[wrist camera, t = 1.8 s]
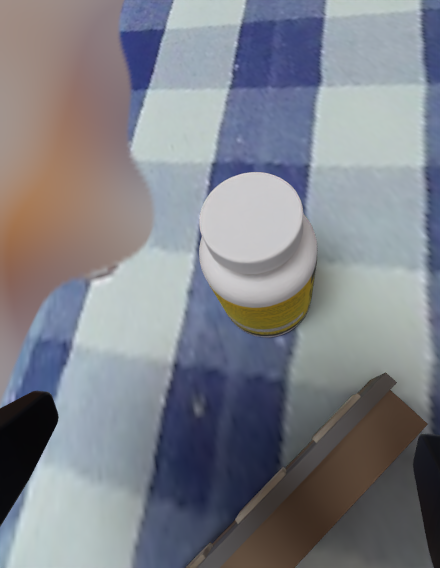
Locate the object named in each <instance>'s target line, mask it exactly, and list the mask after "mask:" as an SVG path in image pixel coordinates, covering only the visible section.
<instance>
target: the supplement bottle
mask: <svg viewBox="0 0 440 568" xmlns="http://www.w3.org/2000/svg"><path fill="white" fill-rule="evenodd" d="M199 223H200V231H201V234H202V238H201V242H200V249H199V257H200V264H201V268H202V271H203V274H204V276H205V278H206V279H207V281H208V283H209V285H210V287H211V288H212V290H213V292H214V293H215V295H216V296H217V298H218V300H219V301H220V303H221V305H222V306H223V308H224V309H225V311H226V313H227V314H228V316H229V317H230V319H231V320H232V321H233V322H234V324H235V325H236V326H238V327H239V328H240V329H241V330H243V331H244V332H246V333H248V334H251V335H254V336H258V337H276V336H280V335H283V334H285V333H287V332H289V331H291V330H292V329H294V328H295V327H296V326H297V325H298V324H299V323H300V322H301V321H302V320H303V319H304V317H305V316H306V314H307V312H308V309H309V306H310V303H311V298H312V291H313V283H314V275H315V269H316V264H317V240H316V235H315V232H314V230H313V227H312V225H311V223H310V222H309V220H308V219H307V218H306V216H305V215H304V214H303V207H302V203H301V200H300V198H299V196H298V194H297V193H296V191H295V190H294V188H293V187H292V186H291V185H290V184H288V183H287V182H286V181H284V180H283V179H281V178H279V177H277V176H275V175H271V174H268V173H262V172H250V173H244V174H240V175H237V176H234V177H231V178H229V179H227V180H225V181H224V182H222V183H221V184H219V185H218V186H217V187H216V188H215V189H214V190H213V191H212V192H211V193H210V194H209V196H208V197H207V198H206V200H205V202H204V204H203V207H202V209H201V213H200V222H199Z"/></svg>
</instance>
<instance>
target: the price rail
mask: <svg viewBox="0 0 440 568" xmlns="http://www.w3.org/2000/svg"><path fill="white" fill-rule="evenodd" d="M396 383H397V382H396V381H395V380H393V379H392V378H391V377H390V376H389V375H388V374H387V373H384V374H382V375H380V376H378V377H376V378H374V379H372V380H370V381H369V382H368V383H367V384H366V385H365V386H364V387H363V388H362V389H361V390H360V391H359V392H358V393H357V394H355V395H352V396H351V397H350V398H349V399H348V400H347V402H346V403H345V404H344V405H343V406H342V407H341V408H340V409H339V410H338V411H337V412H336V413H335V414H334V415H333V416H332V417H331V418H330V419H329V420H328V421H327V422H326V423H325V424H324V425H323V426H322V427H321V428H320V429H319V430H318V431H317V432H316V433H315V435H314V436H313V437H312V439H313V440H312V441H311V442H310V443H309V444H308V445H307V446H306V447H305V448H304V449H303V450H302V451H301V452H300V453H299V454H298V455H297V456H296V458H295V459H294V460H293V461H292V462H291V463H290V464H289V465H288V466H287V467H286V468H284V467H283V468H282V469H281V470H280V471H279V472H278V473H277V474H276V475H275V476H274V477H273V478H272V479H271V480H270V481H269V482H268V483H267V484H266V485H265V486H264V487H263V488H262V489H261V490H260V491H259V492H258V493H257V494H256V495H255V496H254V497H253V498H252V500H251V501H250V502H249V503H248V504H247V505H246V506H245V507H244V508H243V509H242V510H241V511H240V512H239V514H238V516H237V517H236V519H235V521H234V522H233V523H232V524H231V525H230V526H229V527H228V528H227V529H226V530H225V531H224V532H223V533H222V534H221V535H220V536H219V537H218V538H217V539H216V540H215V541H214V542H213V543H212V544H211V542H210V543H209V544H208V545H207V546H206V547H205V548H204V549H203V550H202V551H201V552H200V553H199V554H198V555H197V556H196V557H195V558H194V559H193V560H192V561H191V562H190V564H189V565H188V566H187V567H186V568H295V567H296V566H297V565H298V563H299V562H300V561H301V560H302V559H303V558H304V557H305V556H306V555H307V554H308V553H309V552H310V551H311V549H312V548H313V547H314V546H315V545H316V544H317V543H318V542H319V541H320V540H321V539H322V538H323V537H324V535H325V534H326V533H327V532H328V531H329V530H330V529H331V528H332V527H333V526H334V525H335V524H336V523H337V521H338V520H339V519H340V518H341V517H342V516H343V515H344V514H345V513H346V512H347V511H348V510H349V509H350V507H351V506H352V505H353V504H354V503H355V502H356V501H357V500H358V499H359V498H360V497H361V496H362V495H363V493H364V492H365V491H366V490H367V489H368V488H369V487H370V486H371V485H372V484H373V483H374V482H375V481H376V479H377V478H378V477H379V476H380V475H381V474H382V473H383V472H384V471H385V470H386V469H387V468H388V467H389V465H390V464H391V463H392V462H393V461H394V460H395V459H396V458H397V457H398V456H399V455H400V454H401V453H402V452H403V450H404V449H405V448H406V447H407V446H408V445H409V444H410V443H411V442H412V441H413V440H414V439H415V438H416V436H417V435H418V434H419V433H420V432H421V431H422V430H423V429H424V428H425V427H426V426H427V425H428V424H427V423H426V422H425V421H424V420H423V419H422V418H421V417H420V416H418V415H417V414H416V413H415V412H414V411H413V410H412V409H411V408H410V407H408V406H407V405H406V404H405V403H404V402H403V401H402V400H401V399H400V398H399V397H397V396H396V395H395V394H394V393H393V392H392V391H391V390H390V389H391V388H392V387H393V386H394V385H395V384H396Z"/></svg>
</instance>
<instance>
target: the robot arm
mask: <svg viewBox="0 0 440 568" xmlns="http://www.w3.org/2000/svg"><path fill="white" fill-rule="evenodd" d="M57 422H58V412H57V409H56V406H55V403H54V400H53V397H52V395H51V394H50V393H49V392H44V391H33V392H31V393H29V394H27V395H25V396H23V397H21V398H19V399H17V400H16V401H14V402H12V403H10V404H8V405H6V406H4V407H2V408H0V526H1V525H2V523H3V521H4V520H5V518H6V516H7V515H8V513H9V512H10V510H11V508H12V507H13V505H14V503H15V502H16V500H17V499H18V497H19V495H20V494H21V492H22V490H23V489H24V487H25V485H26V484H27V482H28V480H29V478H30V476H31V475H32V473H33V471H34V469H35V467H36V465H37V463H38V461H39V459H40V457H41V455H42V453H43V451H44V449H45V447H46V445H47V443H48V441H49V439H50V437H51V435H52V433H53V431H54V429H55V427H56V425H57ZM413 468H414V475H415V480H416V485H417V491H418V496H419V501H420V507H421V512H422V517H423V522H424V528H425V533H426V538H427V543H428V548H429V552H430V556H431V560H432V563H433V567H434V568H440V435H433V434H421V435H420V436H419V439H418V443H417V447H416V452H415V456H414V461H413Z"/></svg>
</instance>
